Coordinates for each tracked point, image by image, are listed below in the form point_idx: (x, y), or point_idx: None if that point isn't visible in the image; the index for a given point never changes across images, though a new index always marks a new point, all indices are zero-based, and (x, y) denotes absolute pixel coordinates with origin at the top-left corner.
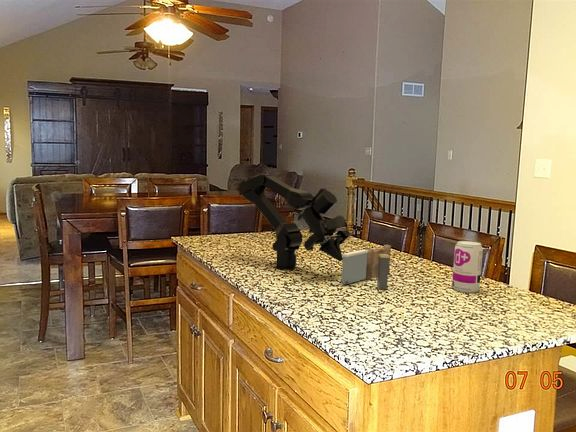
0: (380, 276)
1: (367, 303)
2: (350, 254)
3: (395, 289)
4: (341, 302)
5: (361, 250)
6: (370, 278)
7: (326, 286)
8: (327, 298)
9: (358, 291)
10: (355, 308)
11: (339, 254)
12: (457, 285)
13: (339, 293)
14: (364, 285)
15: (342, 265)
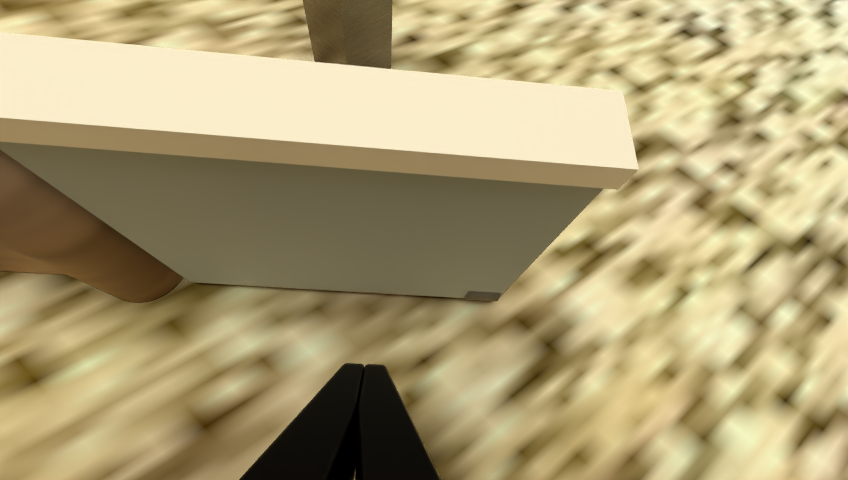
0: (387, 7)
1: (665, 29)
2: (523, 87)
3: None
4: (771, 111)
5: (62, 96)
6: None
7: (620, 362)
8: (800, 193)
9: None
10: (768, 35)
11: (372, 418)
12: None
13: (666, 199)
14: None
15: (550, 240)
